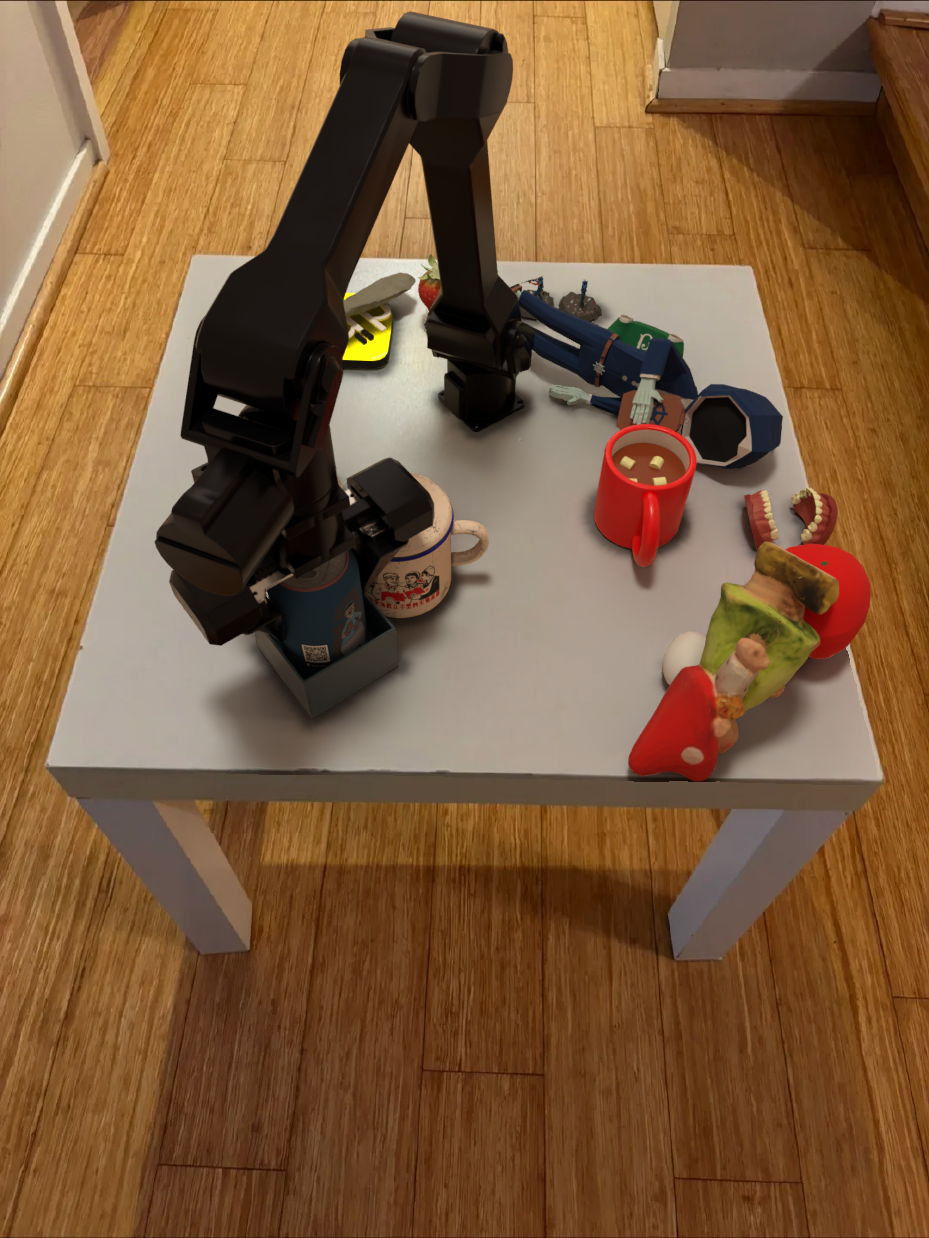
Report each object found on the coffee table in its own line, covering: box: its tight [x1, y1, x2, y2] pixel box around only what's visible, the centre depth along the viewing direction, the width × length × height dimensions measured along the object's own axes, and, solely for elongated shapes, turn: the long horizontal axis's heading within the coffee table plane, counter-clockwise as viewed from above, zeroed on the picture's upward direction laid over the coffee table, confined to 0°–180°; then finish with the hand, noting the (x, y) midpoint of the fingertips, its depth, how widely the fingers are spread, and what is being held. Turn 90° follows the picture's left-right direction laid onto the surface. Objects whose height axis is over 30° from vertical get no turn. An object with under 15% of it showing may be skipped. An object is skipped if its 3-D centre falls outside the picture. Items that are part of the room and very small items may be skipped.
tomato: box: [784, 544, 872, 660], centre depth 80 cm, size 9×10×8 cm
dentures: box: [743, 487, 838, 552], centre depth 88 cm, size 6×4×8 cm
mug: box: [593, 424, 698, 568], centre depth 85 cm, size 8×12×8 cm, turn 179°
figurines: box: [520, 275, 603, 322], centre depth 105 cm, size 10×5×4 cm, turn 85°
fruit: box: [417, 253, 441, 312], centre depth 102 cm, size 5×5×8 cm
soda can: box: [266, 549, 368, 675], centre depth 75 cm, size 7×7×12 cm
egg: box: [662, 631, 706, 686], centre depth 79 cm, size 4×6×4 cm, turn 156°
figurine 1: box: [509, 283, 784, 470], centre depth 93 cm, size 12×12×30 cm
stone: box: [343, 272, 417, 317], centre depth 103 cm, size 13×2×5 cm
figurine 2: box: [627, 541, 839, 782], centre depth 73 cm, size 11×9×20 cm
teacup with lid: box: [366, 472, 490, 619], centre depth 81 cm, size 12×9×12 cm
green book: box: [607, 313, 685, 358], centre depth 100 cm, size 9×4×6 cm
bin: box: [253, 593, 399, 720], centre depth 79 cm, size 8×8×6 cm
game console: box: [342, 292, 394, 370], centre depth 104 cm, size 18×11×2 cm, turn 89°
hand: (320, 613), depth 76 cm, fingers closed on soda can, 7 cm apart
